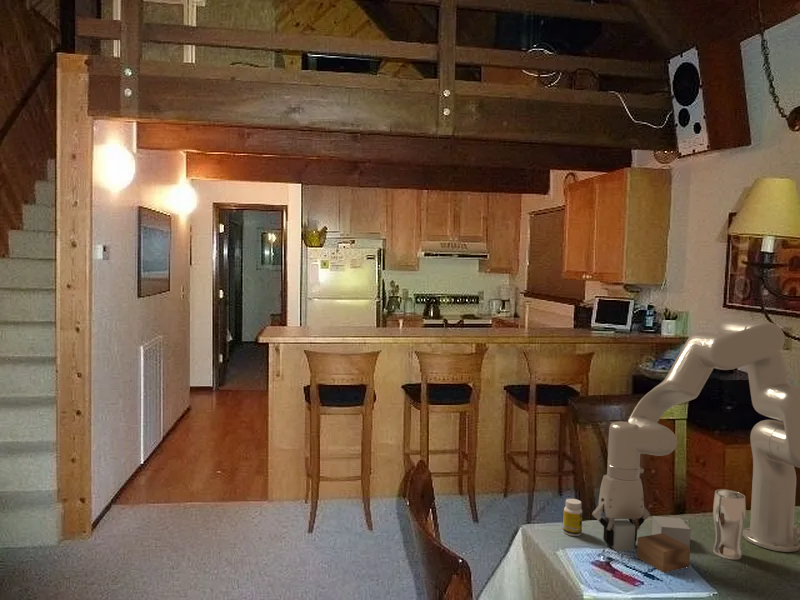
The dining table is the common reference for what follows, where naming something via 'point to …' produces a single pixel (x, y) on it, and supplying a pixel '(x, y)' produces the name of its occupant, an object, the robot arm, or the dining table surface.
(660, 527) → the grey block
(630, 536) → the painted block
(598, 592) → the dining table surface
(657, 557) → the walnut block
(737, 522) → the beer glass
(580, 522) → the supplement bottle
